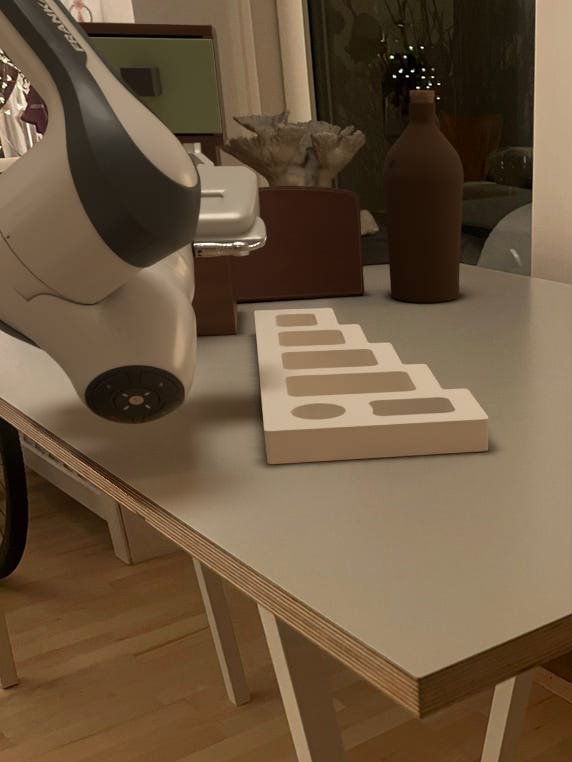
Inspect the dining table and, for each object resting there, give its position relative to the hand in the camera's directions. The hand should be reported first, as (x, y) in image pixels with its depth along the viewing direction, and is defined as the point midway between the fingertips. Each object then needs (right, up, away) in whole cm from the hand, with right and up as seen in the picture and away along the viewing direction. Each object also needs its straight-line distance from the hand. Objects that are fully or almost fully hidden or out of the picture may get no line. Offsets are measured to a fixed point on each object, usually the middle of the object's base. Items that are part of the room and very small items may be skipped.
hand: (137, 150), depth 86 cm
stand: (-6, -5, +33) cm, 34 cm away
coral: (0, +20, +77) cm, 80 cm away
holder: (+17, -17, +13) cm, 27 cm away
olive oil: (+22, +5, +51) cm, 56 cm away
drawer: (-4, +11, +18) cm, 21 cm away
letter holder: (+3, +5, +52) cm, 52 cm away
